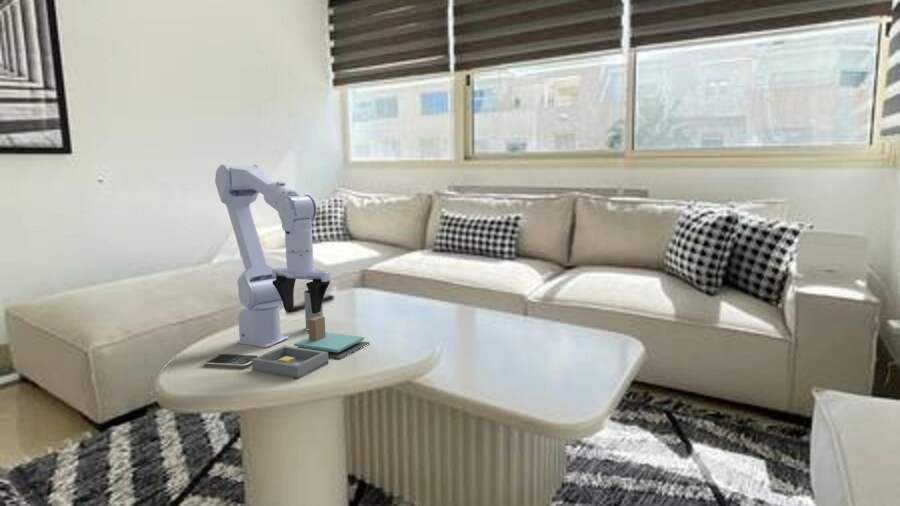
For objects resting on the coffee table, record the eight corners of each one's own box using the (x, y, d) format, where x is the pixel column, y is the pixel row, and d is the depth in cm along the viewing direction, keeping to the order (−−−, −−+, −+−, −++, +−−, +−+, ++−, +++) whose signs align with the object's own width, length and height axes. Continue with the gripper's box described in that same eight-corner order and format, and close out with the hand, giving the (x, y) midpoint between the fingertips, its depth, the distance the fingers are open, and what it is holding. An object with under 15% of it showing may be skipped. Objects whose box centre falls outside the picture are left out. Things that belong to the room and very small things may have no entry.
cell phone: (246, 371, 116) (246, 365, 115) (199, 368, 118) (198, 362, 117) (261, 361, 122) (261, 355, 121) (216, 359, 124) (216, 353, 123)
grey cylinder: (319, 331, 143) (317, 292, 142) (303, 330, 144) (301, 292, 143) (326, 326, 148) (324, 289, 146) (310, 326, 148) (308, 288, 147)
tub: (252, 370, 115) (251, 359, 114) (284, 356, 124) (284, 345, 123) (298, 378, 110) (297, 366, 109) (328, 363, 119) (328, 352, 118)
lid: (294, 349, 127) (292, 322, 126) (321, 337, 137) (320, 312, 136) (338, 355, 122) (337, 328, 121) (364, 342, 132) (363, 316, 131)
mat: (290, 351, 127) (290, 350, 127) (322, 337, 138) (322, 336, 137) (340, 359, 121) (340, 357, 121) (369, 344, 132) (369, 342, 132)
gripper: (260, 251, 120) (264, 312, 122) (314, 254, 114) (317, 318, 116) (282, 247, 126) (286, 305, 128) (335, 250, 120) (337, 310, 122)
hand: (302, 310), depth 122 cm, fingers open, 7 cm apart
